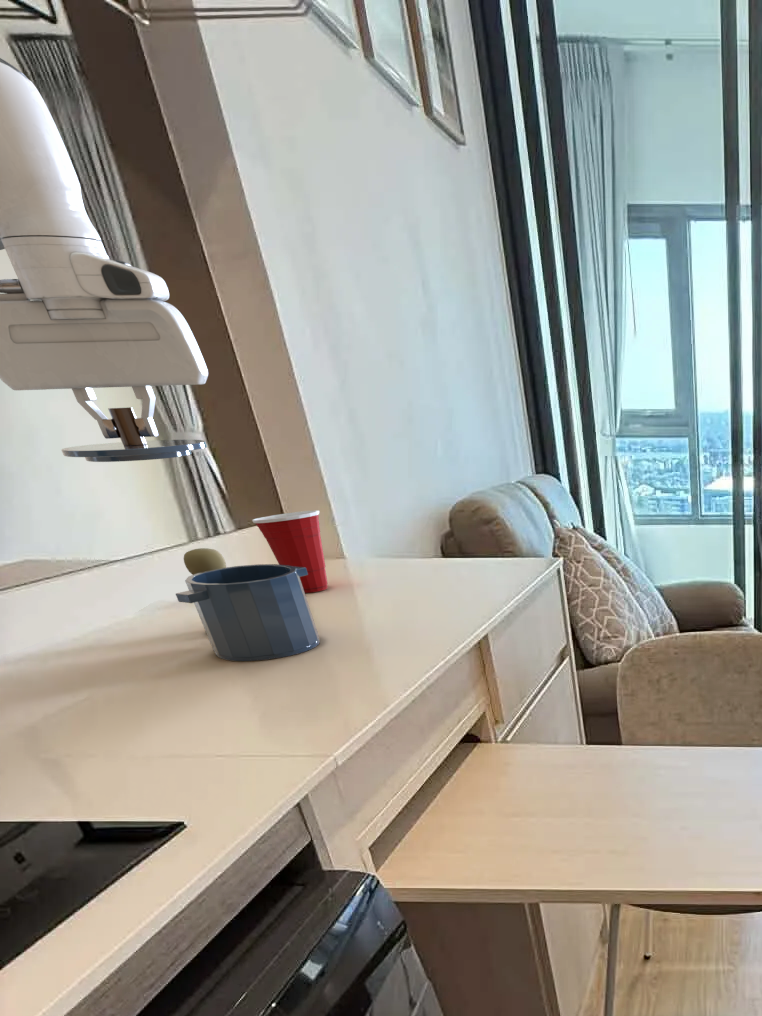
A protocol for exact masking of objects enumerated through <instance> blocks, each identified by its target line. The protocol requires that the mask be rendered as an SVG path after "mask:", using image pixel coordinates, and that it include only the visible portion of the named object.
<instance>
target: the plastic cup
mask: <svg viewBox="0 0 762 1016" xmlns="http://www.w3.org/2000/svg"><path fill="white" fill-rule="evenodd" d="M319 515H320V510H318V509H317V510H316V509H315V510H303V511H295V512H287V513H281V514H273V515H267V516H262V517H257V518H253V519H251V521H252V523H253V524H255V525H256V526H257V528H258V529H259V530H260V532H261V533H262V535H263V537H264V539H265V540H266V542H267V544H268V546H269V548H270V550H271V552H272V554H273V556H274V558H275V559H276V562H277V564H278V565H290V566H292V567H293V566H296V567H306V570H307V573H308V575H306V576H301V577H300V580H301V583H302V586H303V589H304V592H305V594H308V593H310V594H311V593H317V592H322V591H325V590H327V589H328V578H327V572H326V562H325V555H324V549H323V542H322V538H321V528H320V519H319V517H320V516H319Z"/></svg>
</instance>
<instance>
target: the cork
mask: <svg viewBox="0 0 762 1016" xmlns="http://www.w3.org/2000/svg"><path fill="white" fill-rule="evenodd" d="M183 563H184V565H185V568H186V569H187V571H188V572H189V573H190V574H191V575H194V574H197V573H200V572H205V571H209V570H214V569H220V568H227V563H226V560H225V558H224V557H223V555H222V554H221V552H220V551H218V550H216V549H214V548H206V547H204V548H203V547H202V548H201V547H199V548H194V549H191V550H188V551H186V552H185V553H184V554H183Z"/></svg>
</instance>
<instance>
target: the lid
mask: <svg viewBox="0 0 762 1016" xmlns="http://www.w3.org/2000/svg"><path fill="white" fill-rule="evenodd" d="M107 411H108V412H109V414H110V417H111V419H113V422H114V424H115V427H116V429H117V431H118V434H119V436H120V438H119V439H120V442H107V443H95V444H85V445H75V446H69V447H64V448H61V453H62V455H63V456H64V457H67V458H84V459H85V461H87V462H90V463H116V462H117V463H118V462H119V463H121V462H136V461H137V462H138V461H139V462H140V461H151V460H162V459H163V460H164V459H173V458H180V457H186V456H187V457H188V456H191V455H192V451H197V450H203V449H206V448H208V444H207V443H206V442H207V441H206V440H203V439H159V440H158V439H157V440H155V439H154V440H146V437H142V436H141V435H140V433H139V431H138V430H139V428H138V427H137V426H136V423H135V421H134V418H137V416H136V413H135V411H134V408H133V406H123V407H122V406H121V407H108V408H107Z"/></svg>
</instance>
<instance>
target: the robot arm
mask: <svg viewBox="0 0 762 1016" xmlns="http://www.w3.org/2000/svg"><path fill="white" fill-rule="evenodd" d="M84 204H85V203H84V201H83V195H82V188H81V183H80V181H79V177H78V175H77V173H76V170H75V168H74V165H73V163H72V160H71V157H70V154H69V152H68V151H67V147H66V146H65V143H64V141H63V138H62V136H61V134H60V131H59V130H58V126H57V125H56V122H55V121H54V119H53V116H52V114H51V112H50V110H49V108H48V105H47V104H46V102H45V100H44V98H43V96H42V94H41V93H40V92H39V90H38V88H37V86H36V85H35V84H34V83H33V81H31V79H29V78H28V77H27V75H25V74H24V73H23V72H22V71H21V70H20V69H18V68H17V67H16V66H14V65H13V64H11V63H10V62H8V61H6V60H5V59H3V58H2V57H0V251H2V250H5V252H6V254H7V257H8V260H9V261H10V264H11V266H12V268H13V270H14V273H15V275H16V278H12V279H11V278H4V279H0V380H1V381H2V382H3V383H4V384H5V385H6V386H7V387H9V388H10V389H11V390H12V391H40V390H41V391H43V390H44V391H46V390H72V393H73V395H74V398H75V400H76V402H77V403H78V404H79V405H80V406H81V407H82V408H83V409H84V410H85V411H86V412H87V413H88V414H89V415H90V416H91V417H92V418H93V419H94V420H95V421H97V424H98V426H99V429H100V431H101V433H102V436H103V437H104V439H106V440H108V439H120V436H119V434H118V431H117V429H116V427H115V424H114V422H113V419H112V418H108V417H107V416H106V414H104V413H103V412H102V410H101V408H99V407H98V406H97V405H96V404H95V403H94V401H97V396H96V393H95V391H94V389H96V388H97V389H100V388H103V389H105V388H128V387H129V388H131V389H132V391H133V393H134V397H135V398H136V399H137V400H142V403H141V416H140V417H136V418H134V421H135V423H136V426H137V427H138V428H139V430H138V431H139V433H140V435H141V436H142V437H144V438H150V437H153V438H155V437H159V432H158V429H157V426H156V423H155V421H154V419H153V417H154V414H155V407H156V398H157V397H156V395H155V393H154V390H153V387H160V386H161V387H162V386H164V387H165V386H195V385H196V386H197V385H205V384H206V383H207V380H208V377H209V369H208V367H207V364H206V362H205V359H204V356H203V354H202V352H201V348H200V347H199V345H198V342H197V340H196V338H195V336H194V333H193V331H192V330H191V327H190V325H189V323H188V322H187V320H186V319H185V317H184V315H183V314H182V313H181V311H179V310H178V308H177V307H176V306H174V305H173V304H171V303H169V302H166V301H168V300H169V299H170V292H169V287H168V285H167V283H166V281H165V280H164V279H163V277H162V276H159V275H158V274H155V273H154V272H151V271H148V270H145V269H142V268H139V267H136V266H133V265H132V264H131V263H129V262H126V261H123V260H119V259H115V260H113V259H110V257H109V255H108V253H107V251H106V249H105V247H104V244H103V242H102V238H101V237H100V235H99V233H98V231H97V230H96V228H95V226H94V225H93V223H92V221H91V220H90V219H91V218H90V217H89V215H88V213H87V211H86V208H85V205H84Z"/></svg>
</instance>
